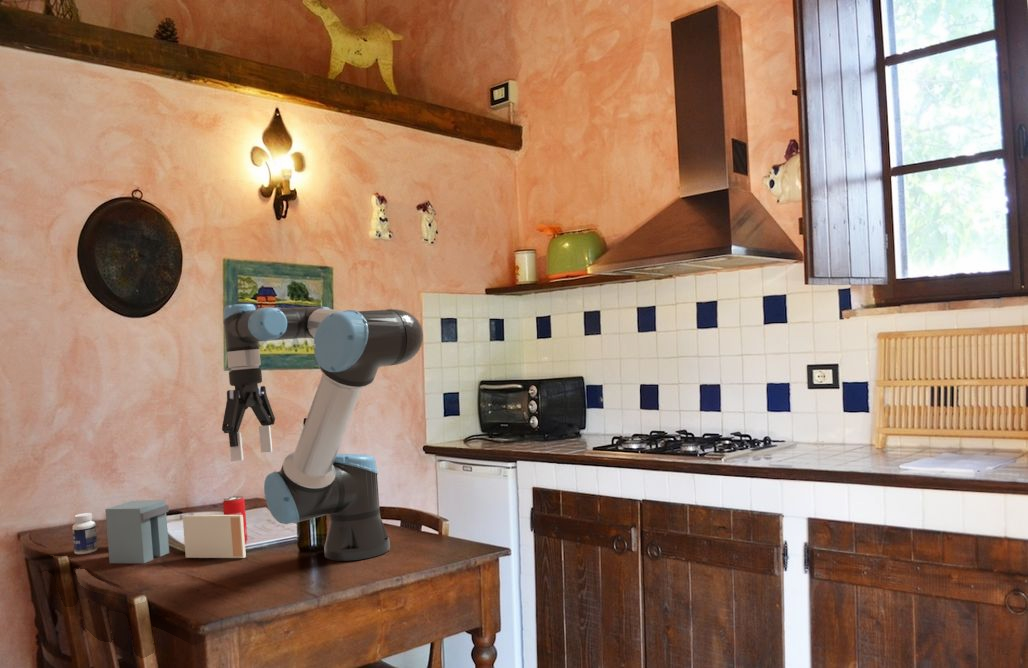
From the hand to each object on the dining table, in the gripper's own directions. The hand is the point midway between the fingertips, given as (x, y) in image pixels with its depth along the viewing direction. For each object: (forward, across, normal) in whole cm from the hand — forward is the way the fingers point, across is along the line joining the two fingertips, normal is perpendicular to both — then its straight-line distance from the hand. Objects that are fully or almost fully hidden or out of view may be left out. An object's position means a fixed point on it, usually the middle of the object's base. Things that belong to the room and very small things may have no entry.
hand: (252, 456), depth 199 cm
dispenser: (+23, +2, -32) cm, 39 cm away
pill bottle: (+22, -4, -53) cm, 57 cm away
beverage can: (+23, -9, -12) cm, 27 cm away
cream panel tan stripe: (+23, +3, -10) cm, 25 cm away
